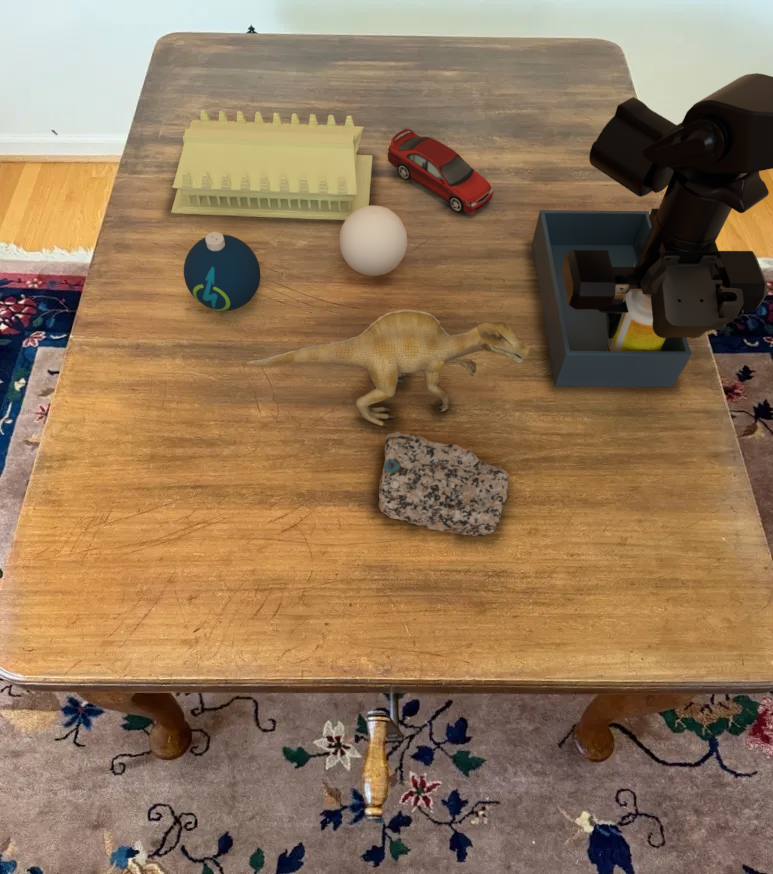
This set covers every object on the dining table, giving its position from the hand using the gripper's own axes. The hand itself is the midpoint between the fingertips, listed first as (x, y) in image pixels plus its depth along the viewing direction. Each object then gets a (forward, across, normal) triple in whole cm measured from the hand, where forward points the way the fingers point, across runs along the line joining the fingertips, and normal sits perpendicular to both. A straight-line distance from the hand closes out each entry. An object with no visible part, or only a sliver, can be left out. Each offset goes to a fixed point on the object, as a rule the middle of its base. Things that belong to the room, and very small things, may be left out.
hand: (636, 335), depth 80 cm
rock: (+4, -22, -17) cm, 28 cm away
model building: (+4, -41, +29) cm, 51 cm away
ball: (+4, -28, +14) cm, 32 cm away
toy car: (+4, -20, +29) cm, 35 cm away
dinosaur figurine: (+4, -27, -6) cm, 28 cm away
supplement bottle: (+3, 0, 0) cm, 3 cm away
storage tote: (+4, -2, +7) cm, 8 cm away
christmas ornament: (+4, -45, +9) cm, 46 cm away
